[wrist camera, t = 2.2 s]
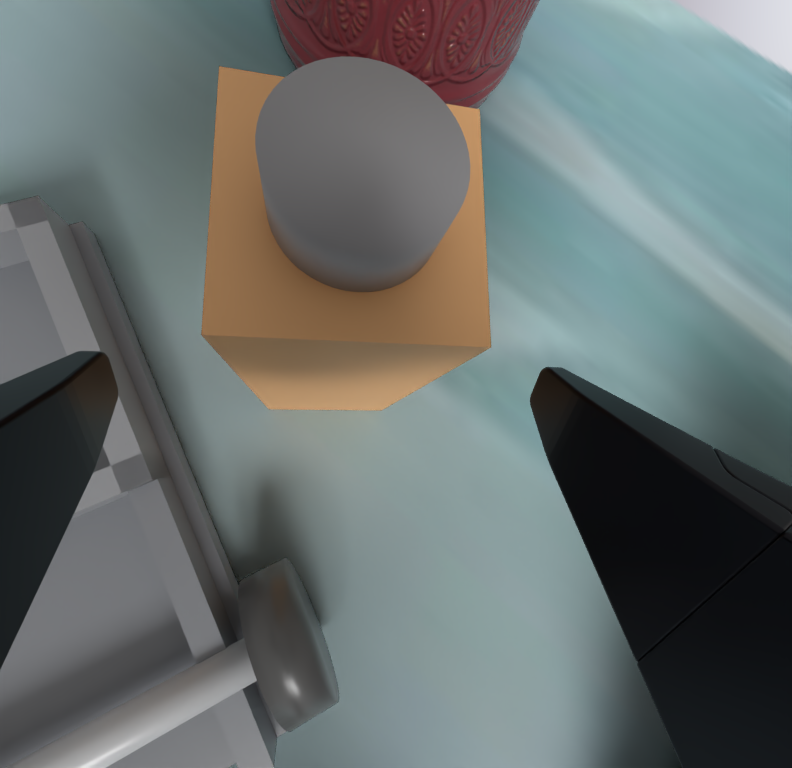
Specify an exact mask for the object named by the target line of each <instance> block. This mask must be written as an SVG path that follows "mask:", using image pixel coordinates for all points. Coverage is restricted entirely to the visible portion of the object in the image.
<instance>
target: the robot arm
mask: <svg viewBox="0 0 792 768" xmlns="http://www.w3.org/2000/svg"><path fill="white" fill-rule="evenodd" d="M117 400H118V386H117V382H116V379H115V376H114V373H113V369H112V366H111V363H110V360H109V357H108V356H107V354H105V353H104V352H101V351H77V352H75V353H72V354H70V355H68V356H65V357H63V358H61V359H58V360H56V361H54V362H51V363H49V364H47V365H44V366H42V367H40V368H37V369H35V370H33V371H30V372H28V373H26V374H23V375H21V376H19V377H16V378H14V379H12V380H9V381H7V382H5V383H2V384H0V670H1V667H2V665H3V663H4V661H5V659H6V657H7V655H8V653H9V650H10V648H11V646H12V644H13V642H14V640H15V638H16V636H17V633H18V631H19V629H20V627H21V625H22V623H23V621H24V619H25V617H26V614H27V612H28V610H29V608H30V606H31V604H32V602H33V600H34V597H35V595H36V593H37V591H38V589H39V587H40V585H41V583H42V580H43V578H44V576H45V574H46V572H47V570H48V568H49V566H50V563H51V561H52V559H53V557H54V555H55V553H56V551H57V549H58V546H59V544H60V542H61V540H62V538H63V536H64V534H65V532H66V530H67V527H68V525H69V523H70V521H71V519H72V517H73V515H74V513H75V510H76V508H77V506H78V504H79V502H80V500H81V498H82V496H83V493H84V491H85V489H86V487H87V485H88V483H89V481H90V479H91V476H92V474H93V472H94V469H95V467H96V465H97V462H98V459H99V456H100V453H101V450H102V447H103V444H104V441H105V438H106V434H107V431H108V428H109V425H110V422H111V419H112V416H113V412H114V409H115V406H116V403H117ZM530 405H531V408H532V412H533V415H534V418H535V421H536V424H537V428H538V431H539V434H540V437H541V440H542V444H543V447H544V450H545V453H546V456H547V459H548V461H549V464H550V466H551V469H552V471H553V473H554V475H555V478H556V480H557V482H558V485H559V487H560V489H561V491H562V494H563V496H564V498H565V501H566V503H567V505H568V507H569V510H570V512H571V514H572V516H573V519H574V521H575V523H576V526H577V528H578V530H579V532H580V535H581V537H582V539H583V542H584V544H585V546H586V548H587V551H588V553H589V555H590V558H591V560H592V562H593V564H594V567H595V569H596V571H597V573H598V576H599V578H600V580H601V583H602V585H603V587H604V589H605V592H606V594H607V596H608V599H609V601H610V603H611V605H612V608H613V610H614V612H615V614H616V617H617V619H618V621H619V624H620V626H621V628H622V630H623V633H624V635H625V637H626V640H627V642H628V644H629V646H630V649H631V651H632V653H633V656H634V658H635V660H636V661H637V662H638V663H637V665H638V668H639V670H640V672H641V674H642V677H643V679H644V681H645V683H646V686H647V688H648V690H649V693H650V695H651V697H652V699H653V702H654V704H655V706H656V709H657V711H658V713H659V715H660V718H661V720H662V722H663V725H664V727H665V729H666V731H667V734H668V736H669V738H670V741H671V743H672V745H673V747H674V750H675V752H676V754H677V757H678V759H679V761H680V763H681V766H682V768H792V487H791V486H789V485H787V484H785V483H783V482H781V481H779V480H777V479H775V478H773V477H771V476H769V475H767V474H765V473H763V472H761V471H759V470H757V469H755V468H753V467H751V466H749V465H747V464H745V463H743V462H741V461H739V460H737V459H735V458H733V457H731V456H730V455H728V454H726V453H724V452H722V451H720V450H718V449H713V447H712V446H710V445H708V444H706V443H705V442H703V441H701V440H699V439H697V438H695V437H693V436H691V435H689V434H687V433H686V432H684V431H682V430H680V429H678V428H676V427H674V426H672V425H670V424H668V423H666V422H665V421H663V420H661V419H659V418H657V417H655V416H653V415H651V414H649V413H647V412H645V411H644V410H642V409H640V408H638V407H636V406H634V405H632V404H630V403H628V402H626V401H624V400H623V399H621V398H619V397H617V396H615V395H613V394H611V393H609V392H607V391H605V390H604V389H602V388H600V387H598V386H596V385H594V384H592V383H590V382H588V381H586V380H584V379H583V378H581V377H579V376H577V375H575V374H573V373H571V372H569V371H567V370H565V369H563V368H560V367H545V368H544V369H542V371H541V372H540V374H539V377H538V379H537V381H536V384H535V386H534V389H533V391H532V394H531V397H530Z"/></svg>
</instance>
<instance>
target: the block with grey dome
mask: <svg viewBox="0 0 792 768" xmlns="http://www.w3.org/2000/svg"><path fill="white" fill-rule="evenodd" d="M201 335H202V336H203V337H204V338H205V339H206V341H207V342H208V343H209V344H210V345H211V346H212V347H213V348H214V349H215V350H216V352H217V353H218V354H219V355H220V356H221V357H222V358H223V359H224V360H225V361H226V363H227V364H228V365H229V366H230V367H231V368H232V369H233V370H234V371H235V372H236V374H237V375H238V376H239V377H240V378H241V379H242V380H243V381H244V382H245V384H246V385H247V386H248V387H249V388H250V389H251V390H252V391H253V392H254V393H255V395H256V396H257V397H258V398H259V399H260V400H261V401H262V402H263V403H264V404H265V406H266V407H267V408H268V409H283V410H383V409H385V408H387V407H388V406H390V405H392V404H394V403H395V402H397V401H399V400H400V399H402V398H404V397H406V396H407V395H409V394H411V393H413V392H414V391H416V390H418V389H420V388H421V387H423V386H425V385H427V384H428V383H430V382H432V381H433V380H435V379H437V378H439V377H440V376H442V375H444V374H446V373H447V372H449V371H451V370H453V369H454V368H456V367H458V366H460V365H461V364H463V363H465V362H467V361H468V360H470V359H472V358H473V357H475V356H477V355H479V354H480V353H482V352H484V351H486V350H487V349H489V348H491V336H490V315H489V294H488V274H487V253H486V232H485V211H484V190H483V169H482V148H481V127H480V109H475V108H469V107H462V106H456V105H450V104H445V103H444V101H443V100H442V99H441V98H440V97H439V96H438V95H437V94H436V93H435V92H434V91H433V90H432V89H431V88H430V87H428V86H427V85H426V84H424V83H423V82H422V81H421V80H419V79H418V78H416V77H414V76H413V75H411V74H409V73H408V72H406V71H404V70H402V69H400V68H398V67H395V66H393V65H390V64H387V63H384V62H382V61H377V60H373V59H369V58H361V57H333V58H326V59H322V60H318V61H314V62H312V63H309V64H307V65H304V66H302V67H300V68H298V69H297V70H295V71H293V72H291V73H290V74H289V75H287V76H286V77H281V76H275V75H269V74H263V73H257V72H251V71H245V70H239V69H233V68H227V67H221V66H219V76H218V92H217V107H216V122H215V137H214V152H213V167H212V182H211V197H210V212H209V227H208V242H207V257H206V272H205V287H204V303H203V318H202V333H201Z"/></svg>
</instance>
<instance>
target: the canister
mask: <svg viewBox="0 0 792 768" xmlns="http://www.w3.org/2000/svg"><path fill="white" fill-rule="evenodd" d="M539 1H540V0H270V2H271V7H272V10H273V13H274V16H275V19H276V22H277V26H278V31H279V34H280V37H281V40H282V42H283V45H284V47H285V49H286V51H287V53H288V55H289V57H290V59H291V60H292V62H293V64H294V65H295V67H296V68H297V69H298V68H300V67H302V66H304V65H307V64H309V63H312V62H314V61H318V60H322V59H326V58H333V57H361V58H369V59H373V60H377V61H382V62H384V63H387V64H390V65H393V66H395V67H398V68H400V69H402V70H404V71H406V72H408V73H409V74H411V75H413V76H414V77H416V78H418V79H419V80H421V81H422V82H423V83H424V84H426V85H427V86H428V87H430V88H431V89H432V90H433V91H434V92H435V93H436V94H437V95H438V96H439V97H440V98H441V99H442V100H443V101H444V103H445V104H450V105H456V106H462V107H469V108H475V109H477V108H478V107H479V106H480V105H481V104H482V103H483V102H484V101H485V100H486V98H487V97H488V95H489V94H490V93H491V92H492V91H493V90H494V89H495V88H496V87H497V85H498V84H499V83H500V82H501V80H502V79H503V77H504V76H505V74H506V72H507V71H508V69H509V67H510V64H511V63H512V61H513V59H514V58H515V56H516V54H517V51H518V49H519V47H520V43H521V40H522V37H523V32H524V30H525V28H526V26H527V24H528V22H529V20H530V18H531V16H532V14H533V13H534V11H535V9H536V7H537V5H538V3H539Z"/></svg>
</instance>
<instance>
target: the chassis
mask: <svg viewBox="0 0 792 768" xmlns="http://www.w3.org/2000/svg"><path fill="white" fill-rule="evenodd" d="M77 351H101V352H104V353H105V354H107V356H108V357H109V360H110V363H111V366H112V369H113V373H114V376H115V379H116V382H117V386H118V400H117V403H116V406H115V409H114V412H113V416H112V419H111V422H110V425H109V428H108V431H107V434H106V438H105V441H104V444H103V447H102V450H101V453H100V456H99V459H98V462H97V465H96V467H95V469H94V472H93V474H92V476H91V479H90V481H89V483H88V485H87V487H86V489H85V491H84V493H83V496H82V498H81V500H80V502H79V504H78V506H77V508H76V510H75V513H74V515H73V517H72V519H71V521H70V523H69V525H68V527H67V530H66V532H65V534H64V536H63V538H62V540H61V542H60V544H59V546H58V549H57V551H56V553H55V555H54V557H53V559H52V561H51V563H50V566H49V568H48V570H47V572H46V574H45V576H44V578H43V580H42V583H41V585H40V587H39V589H38V591H37V593H36V595H35V597H34V600H33V602H32V604H31V606H30V608H29V610H28V612H27V614H26V617H25V619H24V621H23V623H22V625H21V627H20V629H19V631H18V633H17V636H16V638H15V640H14V642H13V644H12V646H11V648H10V650H9V653H8V655H7V657H6V659H5V661H4V663H3V665H2V667H1V670H0V768H229V767H230V766H232V765H233V764H235V763H236V765H237V767H238V768H273V767H274V761H275V752H276V742H277V737H279V736H280V735H282V734H284V733H285V732H291V731H293V730H294V729H296V728H298V727H299V726H301V725H302V724H304V723H306V722H307V721H309V720H311V719H312V718H314V717H315V716H317V715H319V714H320V713H322V712H323V711H325V710H327V709H328V708H330V707H331V706H333V705H335V704H336V703H338V702H339V690H338V684H337V680H336V675H335V671H334V668H333V664H332V660H331V657H330V654H329V650H328V647H327V644H326V641H325V638H324V635H323V632H322V630H321V627H320V624H319V621H318V619H317V616H316V614H315V611H314V609H313V606H312V604H311V601H310V599H309V597H308V594H307V592H306V590H305V588H304V585H303V583H302V581H301V579H300V577H299V575H298V573H297V572H296V570H295V568H294V566H293V565H292V563H291V562H290V561H289V560H288V559H287V558H283V559H282V560H280V561H278V562H276V563H274V564H272V565H270V566H268V567H266V568H264V569H262V570H260V571H258V572H256V573H254V574H252V575H250V576H248V577H246V578H244V579H242V580H241V581H240V584H239V586H238V583H237V581H236V578H235V576H234V573H233V571H232V569H231V566H230V564H229V561H228V559H227V556H226V554H225V551H224V549H223V547H222V544H221V542H220V539H219V537H218V534H217V532H216V530H215V527H214V525H213V522H212V520H211V517H210V515H209V512H208V510H207V508H206V505H205V503H204V500H203V498H202V495H201V493H200V490H199V488H198V486H197V483H196V481H195V478H194V476H193V473H192V471H191V469H190V466H189V464H188V461H187V459H186V456H185V454H184V451H183V449H182V447H181V444H180V442H179V439H178V437H177V434H176V432H175V429H174V427H173V425H172V422H171V420H170V417H169V415H168V412H167V410H166V408H165V405H164V403H163V400H162V398H161V395H160V393H159V390H158V388H157V386H156V383H155V381H154V378H153V376H152V373H151V371H150V368H149V366H148V364H147V361H146V359H145V356H144V354H143V351H142V349H141V346H140V344H139V342H138V339H137V337H136V334H135V332H134V329H133V327H132V325H131V322H130V320H129V317H128V315H127V312H126V310H125V307H124V305H123V303H122V300H121V298H120V295H119V293H118V290H117V288H116V285H115V283H114V281H113V278H112V276H111V273H110V271H109V268H108V266H107V264H106V261H105V259H104V256H103V254H102V251H101V249H100V246H99V244H98V242H97V239H96V237H95V234H94V233H93V232H92V231H91V230H90V229H89V228H88V227H87V226H86V225H85V224H84V223H83V222H78V223H74V224H71V225H68V224H67V223H66V222H65V221H64V220H63V219H62V218H61V217H60V216H59V215H58V214H57V213H56V212H55V211H54V210H53V209H52V208H50V207H49V206H48V205H47V204H46V203H45V202H44V201H43V200H42V199H41V198H40V197H39V196H34V197H30V198H26V199H22V200H18V201H14V202H10V203H6V204H2V205H0V384H2V383H5V382H7V381H9V380H12V379H14V378H16V377H19V376H21V375H23V374H26V373H28V372H30V371H33V370H35V369H37V368H40V367H42V366H44V365H47V364H49V363H51V362H54V361H56V360H58V359H61V358H63V357H65V356H68V355H70V354H72V353H75V352H77Z"/></svg>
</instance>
